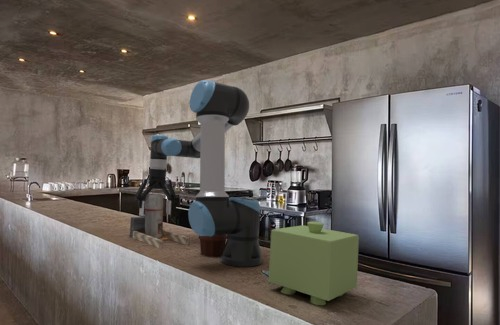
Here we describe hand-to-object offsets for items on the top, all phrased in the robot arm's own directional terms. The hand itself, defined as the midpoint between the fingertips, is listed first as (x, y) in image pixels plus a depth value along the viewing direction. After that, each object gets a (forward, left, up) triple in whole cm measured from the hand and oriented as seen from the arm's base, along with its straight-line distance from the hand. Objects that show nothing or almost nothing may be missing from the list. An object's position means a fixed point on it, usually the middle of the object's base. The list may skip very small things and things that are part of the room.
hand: (155, 214), depth 157 cm
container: (-59, -62, -11) cm, 87 cm away
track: (-3, -3, -11) cm, 12 cm away
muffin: (-21, -29, -11) cm, 38 cm away
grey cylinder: (0, 0, -11) cm, 11 cm away
